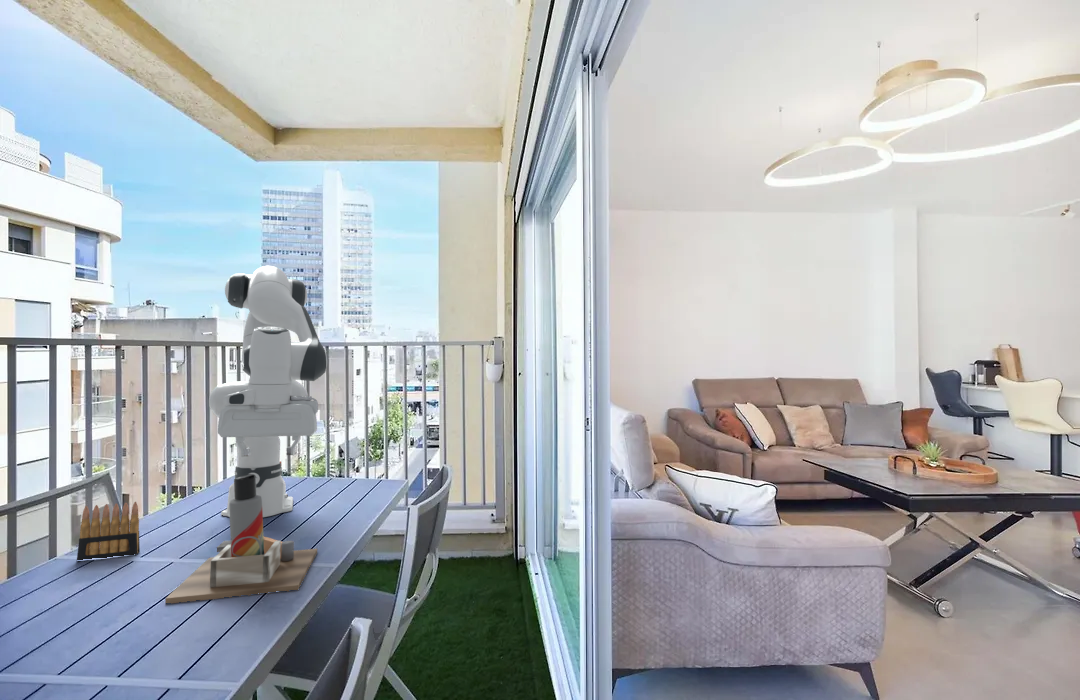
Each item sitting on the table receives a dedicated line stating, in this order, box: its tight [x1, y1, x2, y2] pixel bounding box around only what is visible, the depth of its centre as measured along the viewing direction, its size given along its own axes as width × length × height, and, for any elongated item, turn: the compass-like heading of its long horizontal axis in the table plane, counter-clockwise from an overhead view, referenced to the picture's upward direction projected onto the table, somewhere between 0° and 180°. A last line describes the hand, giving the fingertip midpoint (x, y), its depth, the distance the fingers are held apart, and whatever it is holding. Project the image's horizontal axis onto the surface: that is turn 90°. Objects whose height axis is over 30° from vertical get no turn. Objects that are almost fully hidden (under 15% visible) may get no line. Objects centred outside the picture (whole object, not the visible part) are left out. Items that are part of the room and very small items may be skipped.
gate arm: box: [263, 535, 295, 561], centre depth 109 cm, size 13×2×4 cm, turn 60°
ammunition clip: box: [76, 501, 141, 561], centre depth 110 cm, size 11×2×12 cm, turn 113°
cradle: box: [164, 539, 318, 604], centre depth 101 cm, size 20×22×6 cm
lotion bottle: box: [229, 474, 264, 557], centre depth 99 cm, size 6×6×20 cm
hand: (268, 455), depth 113 cm, fingers open, 8 cm apart
